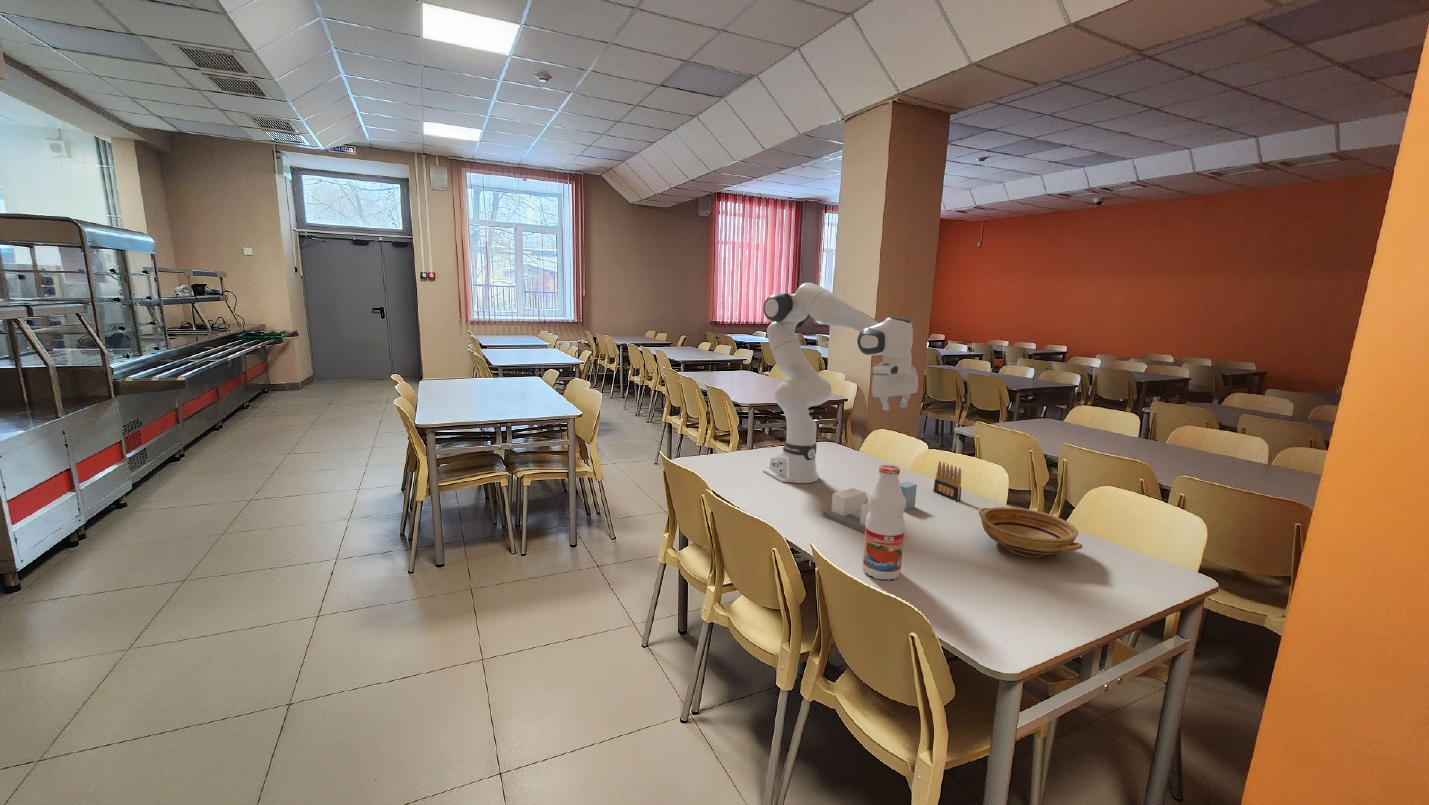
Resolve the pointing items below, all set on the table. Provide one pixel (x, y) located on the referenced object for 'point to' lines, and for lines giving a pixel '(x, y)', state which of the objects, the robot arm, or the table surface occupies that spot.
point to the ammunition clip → (948, 482)
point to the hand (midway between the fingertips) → (894, 408)
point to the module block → (909, 494)
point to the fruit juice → (885, 526)
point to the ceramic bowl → (1029, 531)
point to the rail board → (849, 509)
